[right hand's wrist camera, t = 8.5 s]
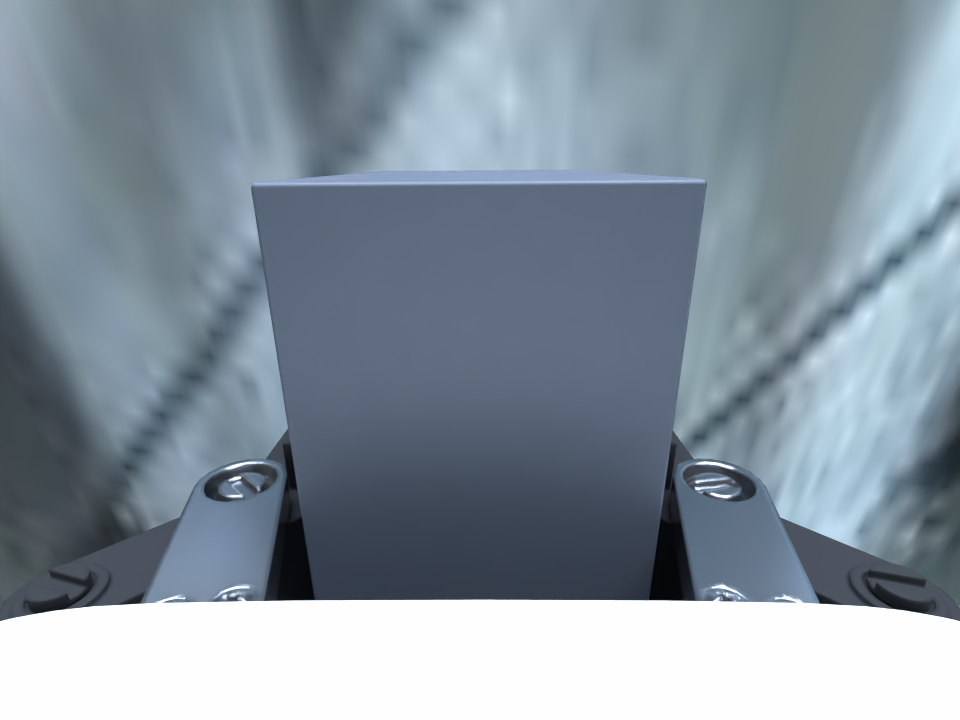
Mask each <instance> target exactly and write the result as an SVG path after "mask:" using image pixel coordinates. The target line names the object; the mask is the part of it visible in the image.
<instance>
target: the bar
mask: <svg viewBox="0 0 960 720" xmlns="http://www.w3.org/2000/svg"><path fill="white" fill-rule="evenodd" d="M706 187H707V183H706V181H705V180H703V179H695V178H681V177H667V176H653V175H639V174H625V173H610V172H596V171H582V170H496V171H382V172H370V173H358V174H347V175H335V176H323V177H311V178H300V179H288V180H276V181H265V182H255V183H253V184H252V186H251V190H252V196H253V203H254V209H255V216H256V222H257V229H258V235H259V242H260V248H261V255H262V261H263V268H264V274H265V281H266V287H267V294H268V300H269V307H270V313H271V320H272V326H273V333H274V339H275V346H276V352H277V359H278V365H279V372H280V378H281V385H282V391H283V398H284V404H285V411H286V417H287V424H288V430H289V437H290V443H291V450H292V456H293V463H294V469H295V476H296V482H297V489H298V495H299V502H300V508H301V515H302V521H303V528H304V534H305V541H306V547H307V554H308V560H309V567H310V573H311V580H312V586H313V593H314V599H315V601H346V600H614V601H649V596H650V589H651V582H652V575H653V567H654V560H655V553H656V546H657V539H658V531H659V524H660V517H661V510H662V503H663V496H664V488H665V481H666V474H667V467H668V460H669V452H670V445H671V438H672V431H673V424H674V416H675V409H676V402H677V395H678V388H679V381H680V373H681V366H682V359H683V352H684V345H685V337H686V330H687V323H688V316H689V309H690V302H691V294H692V287H693V280H694V273H695V266H696V258H697V251H698V244H699V237H700V230H701V222H702V215H703V208H704V201H705V194H706Z"/></svg>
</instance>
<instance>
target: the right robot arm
mask: <svg viewBox="0 0 960 720" xmlns="http://www.w3.org/2000/svg"><path fill="white" fill-rule="evenodd" d="M48 571H49V572H47V573H45V574H43V575H41V576H39V577H37V578H35V579H33V580H32V581H30V582H29V583H27V584H26V585H24V586H23V587H21V588H20V589H18V590H17V591H16V592H15V593H14V594H13V595H12V596H10V597H9V598H8V599H7V600H6V601H5V602H4V603H3V605H2V606H1V608H0V720H960V609H959V607H958V606H957V604H956V603H955V602H954V601H953V600H952V599H951V598H950V597H949V596H948V595H947V594H946V593H945V592H944V591H942V590H941V589H940V588H938V587H937V586H935V585H934V584H932V583H931V582H929V581H928V580H926V579H925V578H923V577H922V576H921V575H919V574H917V573H916V572H914V571H912V570H910V569H908V568H905V567H903V566H900V565H896V564H892V563H890V562H887V561H885V560H882V559H880V558H877V557H875V556H872V555H870V554H868V553H865V552H863V551H860V550H858V549H855V548H853V547H851V546H848V545H846V544H843V543H841V542H838V541H836V540H834V539H831V538H829V537H826V536H824V535H821V534H819V533H816V532H814V531H812V530H809V529H807V528H804V527H802V526H799V525H797V524H795V523H792V522H790V521H787V520H785V519H782V518H780V516H779V514H778V512H777V510H776V508H775V506H774V503H773V501H772V499H771V497H770V495H769V493H768V491H767V488H766V487H765V485H764V484H763V483H762V481H761V480H760V479H759V478H758V477H756V476H755V475H754V474H752V473H751V472H749V471H747V470H745V469H743V468H741V467H739V466H737V465H734V464H730V463H727V462H724V461H719V460H713V459H693V458H692V456H691V455H690V454H689V452H688V451H687V450H686V448H685V447H684V445H683V444H682V443H681V441H680V440H679V439H678V437H677V436H676V434H675V433H674V432H673V431H672V438H671V445H670V452H669V460H668V467H667V474H666V481H665V488H664V496H663V503H662V510H661V517H660V524H659V531H658V539H657V546H656V553H655V560H654V567H653V575H652V582H651V589H650V596H649V601H614V600H346V601H315V599H314V593H313V586H312V580H311V573H310V567H309V560H308V554H307V547H306V541H305V534H304V528H303V521H302V515H301V508H300V502H299V495H298V489H297V482H296V476H295V469H294V463H293V456H292V450H291V443H290V437H289V430H288V429H287V431H286V432H285V434H284V435H283V436H282V438H281V439H280V440H279V442H278V443H277V445H276V446H275V447H274V449H273V450H272V451H271V453H270V454H269V456H268V457H267V458H266V459H247V460H241V461H236V462H233V463H229V464H226V465H223V466H221V467H219V468H217V469H215V470H213V471H211V472H209V473H208V474H206V475H205V476H204V477H202V478H201V479H200V480H199V481H198V483H197V484H196V485H195V487H194V488H193V491H192V493H191V495H190V497H189V499H188V501H187V503H186V506H185V508H184V510H183V512H182V514H181V516H180V518H177V519H175V520H172V521H170V522H167V523H165V524H162V525H160V526H158V527H155V528H153V529H150V530H148V531H145V532H143V533H141V534H138V535H136V536H133V537H131V538H128V539H126V540H124V541H121V542H119V543H116V544H114V545H111V546H109V547H107V548H104V549H102V550H99V551H97V552H94V553H92V554H90V555H87V556H85V557H82V558H80V559H77V560H75V561H72V562H70V563H68V564H63V565H60V566H57V567H54V568H52V569H50V570H48Z"/></svg>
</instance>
